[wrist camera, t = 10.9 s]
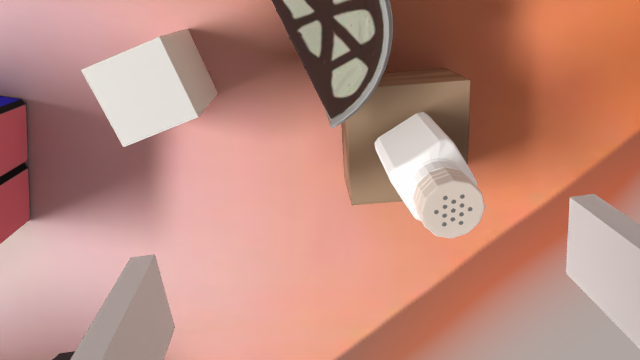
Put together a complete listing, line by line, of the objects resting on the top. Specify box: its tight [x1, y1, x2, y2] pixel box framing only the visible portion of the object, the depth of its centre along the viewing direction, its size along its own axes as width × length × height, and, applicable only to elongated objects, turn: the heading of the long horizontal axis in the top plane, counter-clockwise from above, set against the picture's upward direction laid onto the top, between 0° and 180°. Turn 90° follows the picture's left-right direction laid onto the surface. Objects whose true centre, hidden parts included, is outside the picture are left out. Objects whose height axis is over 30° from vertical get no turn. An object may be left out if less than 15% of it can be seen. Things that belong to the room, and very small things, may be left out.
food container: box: [272, 0, 393, 128], centre depth 32 cm, size 12×6×10 cm, turn 26°
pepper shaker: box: [375, 112, 485, 238], centre depth 30 cm, size 4×4×10 cm
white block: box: [81, 29, 218, 147], centre depth 34 cm, size 5×5×8 cm
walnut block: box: [342, 68, 470, 205], centre depth 37 cm, size 8×8×6 cm
